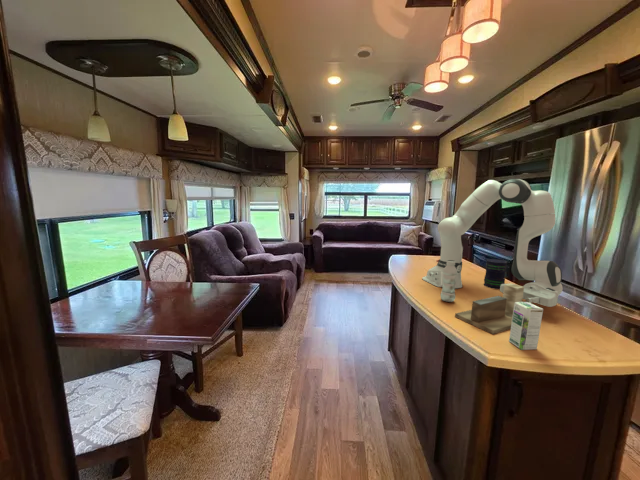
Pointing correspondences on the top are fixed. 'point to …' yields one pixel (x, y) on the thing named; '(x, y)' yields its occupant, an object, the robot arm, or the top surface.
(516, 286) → the ash post
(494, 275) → the storage jar
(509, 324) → the ridge
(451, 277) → the plastic bottle
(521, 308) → the syrup box
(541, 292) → the robot arm
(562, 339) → the top surface
